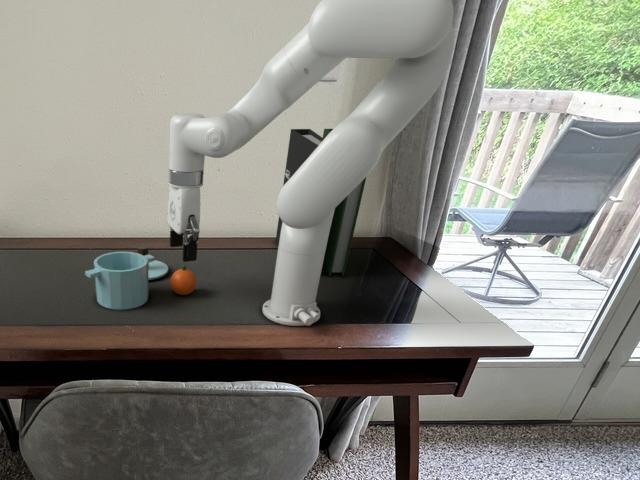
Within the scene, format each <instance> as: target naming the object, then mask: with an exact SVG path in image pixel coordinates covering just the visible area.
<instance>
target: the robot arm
mask: <svg viewBox="0 0 640 480" xmlns="http://www.w3.org/2000/svg"><path fill="white" fill-rule="evenodd" d="M454 9H455V8H454V4H453V0H321V1H320V2H319V3H318V4H317V5H316V7H315V8H314V10H313V12H312V13H311V16H310V19H309V22H308V23H307V24H305V26H303V28H302V29H300V30H299V31H298V33H296V34H295V35H294V36H293V37H292V38H291V39H290V40H289V41H288V42H287V43H286V44H285V45H284V46H283V47H282V48H281V49H280V50H278V51H277V52H276V53H275V55H273V57H271V58H270V59H269V60H268V62H267V63H266V65H265V66H264V67H263V70H262V73H261V75H260V77H259V78H258V80H257V82H256V83H255V84H254V86H253V87H251V89H250V90H249V91H248V92H247V93H246V94H245V95H244V96H243V97H241V99H240V100H238V101H237V102H236V103H235V104H234V105H233V106H232V107H231V108H230V109H229V110H228V111H227V112H224V113H222V114H219V115H216V116H209V117H206V116H205V115H204V114H200V113H194V112H183V113H176V114H174V115H173V116H172V117H170V118H171V119H170V122H169V144H168V145H169V146H168V147H169V149H168V155H169V156H168V186H169V188H168V199H167V210H166V222H167V225H168V226H169V230H170V231H169V246H170V248H176V247H178V248H179V247H182V262H184V263H186V262H195V261H197V259H198V258H197V257H198V245H199V239H200V238H199V237H200V232H201V230H200V223H201V187H203V186H204V173H205V158H206V157H210V158H214V159H222V158H225V157H227V156H229V155H231V154H233V153H234V152H236V151H238V150H240V149H242V148H243V147H244V146H245V145H247V144H248V143H249V142H250V141H252V139H254V138H255V137H256V136H257V135H258V134H259V133H260V132H262V131H264V129H265V128H266V127H267V126H268V125H270V124H271V123H272V122H273V121H274V120H275V119H276V118H278V117H279V116H280V115H281V114H282V113H283V112H284V111H286V110H288V109H289V108H291V107H292V106H293V105H294V104H295V103H296V102H297V101H299V99H300V98H302V97H303V96H304V95H305V94H306V93H308V91H309V90H311V89H312V88H313V87H314V86H315V85H316V84H317V83H319V82H320V81H321V80H322V79H323V78H324V77H325V76H327V75H328V74H329V73H330V72H331V71H333V70H334V69H336V67H338V66H339V65H340V64H341V63H342V62H343V61H344V60H346V59H393V60H392V63H391V65H390V66H389V68H388V69H387V71H386V72H385V73H384V74H383V76H382V77H381V78H380V79H379V81H378V82H377V83H376V84H375V85H374V86H373V87H372V89H371V90H370V92H369V93H368V94H367V95H366V96H365V97H364V98H363V99H362V101H361V102H359V104H358V105H357V107H355V108H354V109H353V111H352V112H351V113H350V114H349V115H348V116H347V117H346V118H345V119H343V120H342V121H340V122H339V123H338V124H337V125H336V126H335V127H333V128H332V129H333V130H332V131H331V132H330V133H329V134H328V135H327V136H326V138H325V139H324V140H323V141H322V142H321V143H320V145H319V146H318V147H317V148H316V149H315V150H314V151H313V153H312V154H311V155H310V156H309V157H308V158H307V160H306V161H305V162H304V163H303V164H302V165H301V167H300V168H299V169H298V170H297V171H296V172H295V173H294V175H293V176H292V177H291V178H290V179H289V180H288V181H287V182H286V184H285V185H284V186H283V185H282V187H281V188H280V191H279V193H278V195H277V199H276V211H277V214H278V218H279V217H280V219H281V220H282V221H283V222H282V228H281V234H280V240H279V246H278V245H277V254H276V261H275V267H274V275H273V282H272V289H271V295H270V299H268V300H266V301H264V302H263V304H262V309H261V310H262V314H263V315H264V316H265V318H267V319H268V320H270V321H272V322H273V323H277V324H279V325H284V326H288V327H289V326H291V327H305V326H309V327H310V326H311V325H312V324H314V323H316V322H318V321H319V320H320V318H321V310H320V308H319V307H318V306H317V304H318V303H317V302H316V299H317V295H318V289H319V285H320V279H321V276H322V275H321V274H322V270H323V266H322V265H323V260H324V255H325V250H326V246H327V242H328V237H329V232H330V227H331V223H332V219H333V214H334V210H335V208H336V207H337V206H338V205H339V204H340V203H341V202H342V201H343V200H344V199H345V198H346V197H347V196H348V195H349V194H350V193H351V192H352V191H353V190H354V189H355V188H356V187H357V186H358V185H359V184H360V183H361V182H362V181H363V180H364V178H365V177H366V176H368V175H370V173H371V172H372V171H373V170H374V168H375V167H376V165H377V164H378V162H379V160H380V158H381V156H382V153H383V151H384V150H385V149H386V148H387V147H388V145H390V143H391V142H392V141H393V140H394V139H395V138H396V137H397V136H398V135H399V134H400V133H401V132H402V131H403V130H404V128H405V127H406V126H407V125H408V124H409V123H410V122H411V121H412V119H414V118H415V116H416V115H417V114H418V113H419V112H420V111H421V110H422V109H423V108H424V106H425V105H426V104H427V103H428V102H429V101H430V100H431V98H432V97H433V96H434V94H435V93H436V91H437V90H438V89H439V87H440V85H441V83H442V82H443V80H444V79H445V75H446V73H447V71H448V69H449V66H450V63H451V60H452V55H453V50H454V43H455V41H454V39H455V38H454V37H455V36H454V23H453V22H454V16H455V15H454V13H455V11H454ZM366 178H367V177H366ZM188 235H189V236H188Z"/></svg>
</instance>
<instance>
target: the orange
mask: <svg viewBox="0 0 640 480" xmlns="http://www.w3.org/2000/svg"><path fill="white" fill-rule="evenodd" d="M197 280H198V279H197V277H196V273H194V272H193V271H192V270H191V269H189V268H187V265H186V264H181V268H179V269H177V270H175V271H174V273H172V275H171V277H170V283H169V284H170V287H171V290H173V292H174V293H176V294H177V295H180V296H187V295H190V294H191V293H192V292H194V290H195V289H196V288H197V285H198V284H197V283H198V282H197Z"/></svg>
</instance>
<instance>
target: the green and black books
mask: <svg viewBox="0 0 640 480" xmlns="http://www.w3.org/2000/svg"><path fill="white" fill-rule="evenodd" d="M333 129H334V128H323V134H322V136H321V135H320V134H318V133H317V132H315V131H314V130H312V129H311V128H291V129H290V134H289V141H288V148H287V155H286V162H285V169H284V170H285V171H284V175H283V177H284V178H283V185H282V187H283V186H284V185H285V184H286V182H287V181H288V180H289V179H290V178H291V177H292V176H293V175H294V173H295V172H296V171H297V170H298V169H299V168H300V167H301V165H302V164H303V163H304V162H305V161H306V160H307V158H308V157H309V156H310V155H311V154H312V153H313V151H314V150H315V149H316V148H317V147H318V146H319V145H320V143H321V142H322V141H323V140H324V139H325V138H326V136H327V135H328V134H329V133H330V132H331V131H332V130H333ZM367 176H368V175H367ZM367 176H366V177H365V178H364V180H363V181H362V182H361V183H360V184H359V185H358V186H357V187H356V188H355V189H354V190H353V191H352V192H351V193H350V194H349V195H348V196H347V197H346V198H345V199H344V200H343V201H342V202H341V203H340V204H339V205H338V206H337V207H336V208H335V210H334V214H333V219H332V223H331V227H330V232H329V237H328V242H327V246H326V250H325V255H324V260H323V265H322V269H324V271H325V272H326V273H327V275H328V276H329V277H332V274H333V273H339V274H341V276H342V277H345V273H346V270H347V269H346V268H347V265H348V259H349V256H350V252H351V247H352V242H353V238H354V233H355V229H356V225H357V220H358V216H359V212H360V208H361V202H362V198H363V194H364V190H365V185H366V181H367ZM282 222H283V221H282V220H281V219H280V217H279V216H278V221H277V227H276V236H275V243H276V245H277V247H278V246H279V240H280V234H281V228H282Z"/></svg>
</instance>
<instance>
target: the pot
mask: <svg viewBox="0 0 640 480" xmlns="http://www.w3.org/2000/svg"><path fill="white" fill-rule="evenodd" d="M155 260H156V257H155V256H153V255H151V254H149V255H145V256H143V255H141V254H138V253H137V252H133V251H114V252H113V251H112V252H108V253H103V254H101V255H99V256H97V257H96V258H95V259H94V261H93V269H88V270H84V275H85V276H86V277H87V278H89V279H93V278H94V286H95V297H96V302H97V303H98V304H99V305H100V306H102V307H104V308H107V309H110V310H119V311H120V310H121V311H122V310H131V309H136V308H139V307H141V306H143V305H144V304H146V303H147V302H148V300H149V295H150V294H149V293H150V292H149V280H148V263H149V262H152V261H155Z"/></svg>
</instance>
